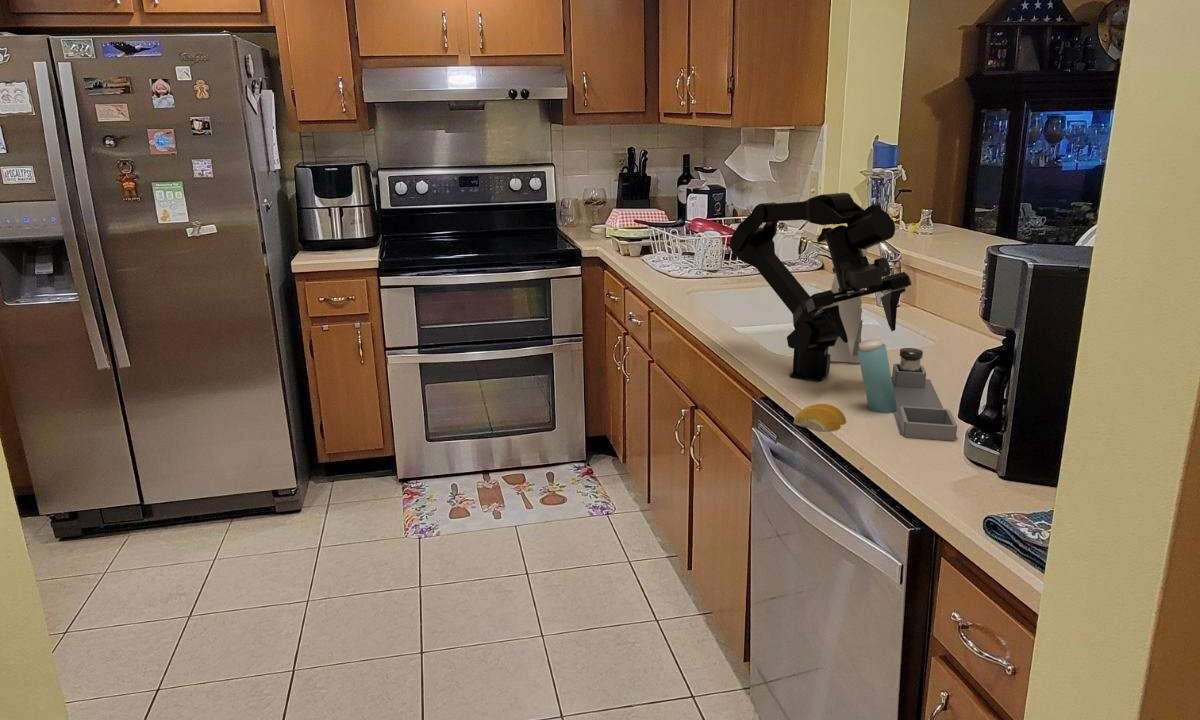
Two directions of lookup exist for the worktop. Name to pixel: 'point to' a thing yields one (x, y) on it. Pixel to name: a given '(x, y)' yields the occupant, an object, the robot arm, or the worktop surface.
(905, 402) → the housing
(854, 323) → the skyscraper
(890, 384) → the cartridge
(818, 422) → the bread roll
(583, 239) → the worktop surface
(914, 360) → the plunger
